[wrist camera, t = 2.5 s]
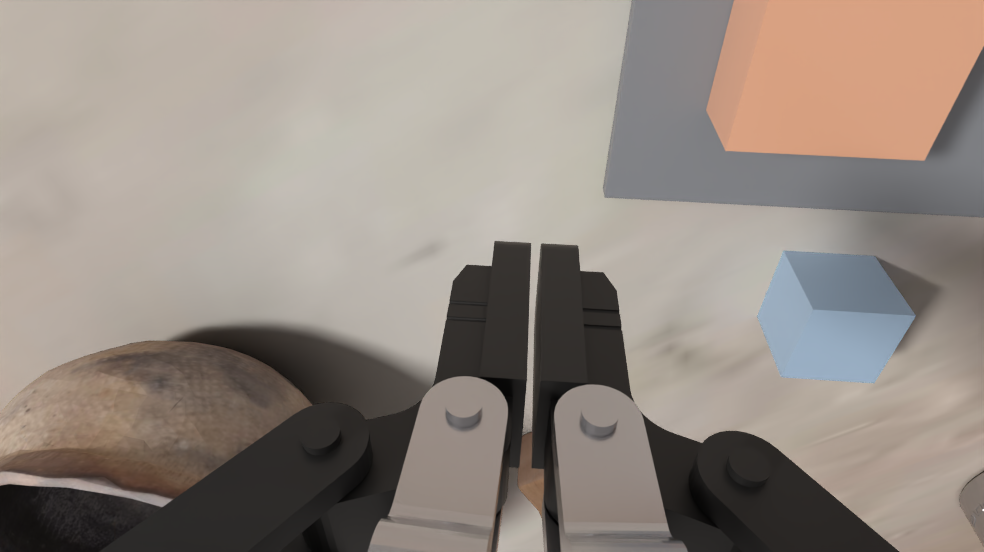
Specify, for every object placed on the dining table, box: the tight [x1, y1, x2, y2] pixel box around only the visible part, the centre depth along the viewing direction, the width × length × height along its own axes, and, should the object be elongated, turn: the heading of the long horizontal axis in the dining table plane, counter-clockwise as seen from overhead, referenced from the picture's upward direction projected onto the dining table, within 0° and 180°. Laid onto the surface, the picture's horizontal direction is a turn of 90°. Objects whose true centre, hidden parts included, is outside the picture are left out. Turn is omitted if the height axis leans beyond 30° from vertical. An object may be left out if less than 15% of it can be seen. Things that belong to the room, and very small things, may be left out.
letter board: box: [603, 0, 984, 217], centre depth 26 cm, size 20×18×1 cm
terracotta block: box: [706, 0, 984, 161], centre depth 24 cm, size 8×8×4 cm
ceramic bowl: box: [0, 341, 312, 552], centre depth 40 cm, size 22×22×15 cm
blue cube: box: [757, 251, 916, 383], centre depth 34 cm, size 5×5×5 cm
